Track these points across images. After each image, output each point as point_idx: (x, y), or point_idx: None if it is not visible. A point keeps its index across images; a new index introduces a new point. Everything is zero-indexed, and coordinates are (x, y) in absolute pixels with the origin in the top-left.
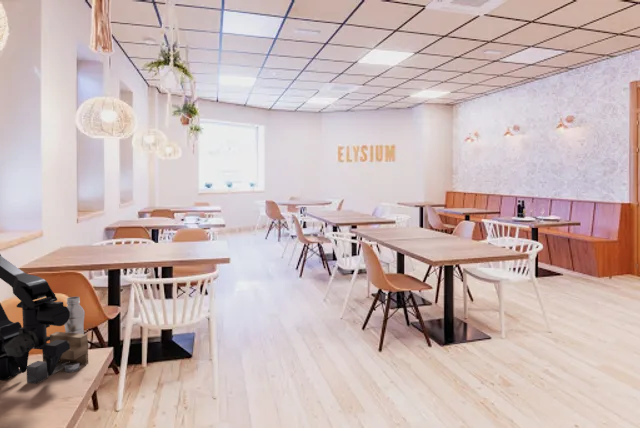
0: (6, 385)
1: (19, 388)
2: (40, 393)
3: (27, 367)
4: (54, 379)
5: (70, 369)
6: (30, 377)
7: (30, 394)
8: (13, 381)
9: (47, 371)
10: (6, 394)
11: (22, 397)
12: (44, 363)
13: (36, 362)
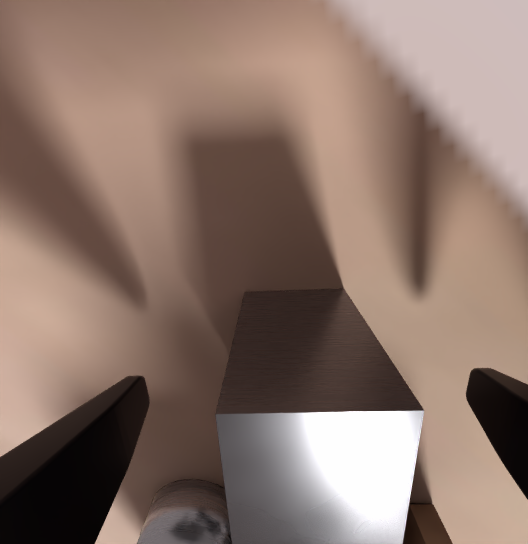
0: (505, 200)
1: (321, 182)
2: (31, 152)
3: (388, 396)
4: (176, 384)
5: (160, 508)
6: (312, 315)
7: (98, 105)
8: (496, 282)
9: (109, 406)
10: (342, 24)
11: (108, 18)
12: (231, 534)
13: (372, 537)
